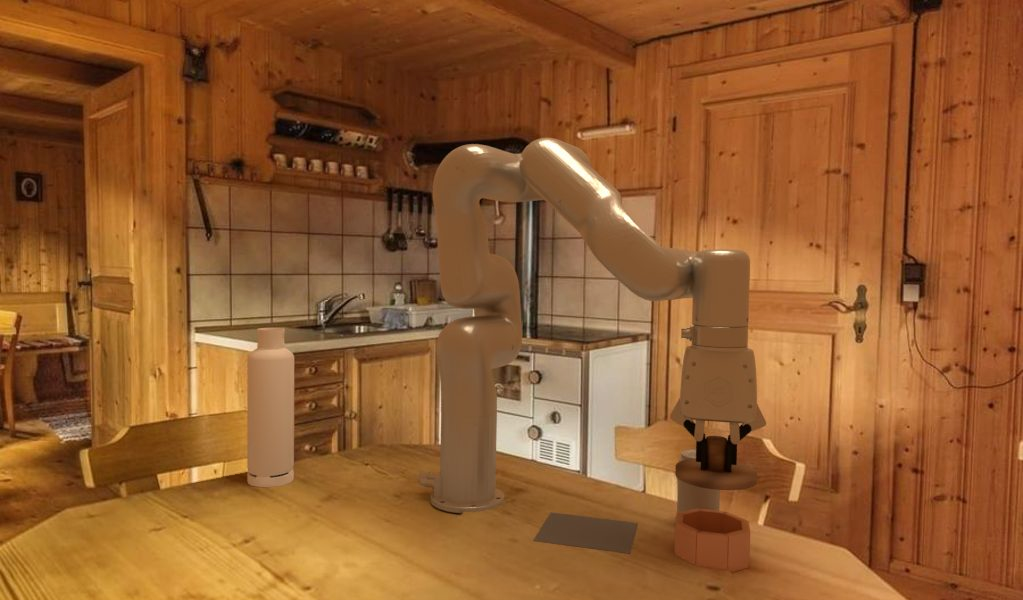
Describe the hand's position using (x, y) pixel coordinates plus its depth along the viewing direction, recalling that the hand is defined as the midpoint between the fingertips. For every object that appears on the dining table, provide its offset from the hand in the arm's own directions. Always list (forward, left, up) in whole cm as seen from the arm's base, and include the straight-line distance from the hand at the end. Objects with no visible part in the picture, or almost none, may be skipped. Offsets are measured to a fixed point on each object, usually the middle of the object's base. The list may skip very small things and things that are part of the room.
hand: (715, 467), depth 97 cm
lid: (0, 0, -1) cm, 1 cm away
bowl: (0, 0, -13) cm, 13 cm away
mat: (-18, +2, -13) cm, 22 cm away
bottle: (-78, +9, -13) cm, 80 cm away
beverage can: (-2, +10, -13) cm, 17 cm away
